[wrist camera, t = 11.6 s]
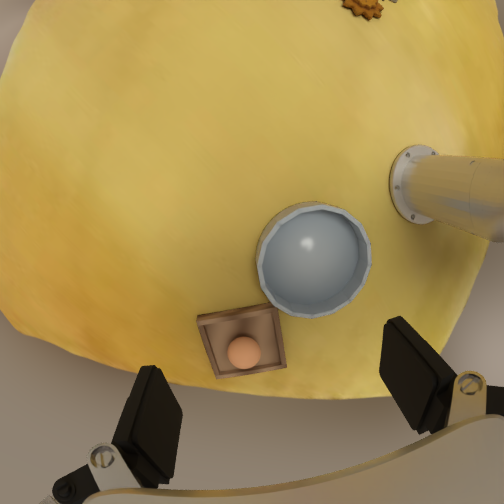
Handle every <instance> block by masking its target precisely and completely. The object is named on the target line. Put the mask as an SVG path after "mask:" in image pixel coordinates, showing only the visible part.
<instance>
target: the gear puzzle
mask: <svg viewBox="0 0 504 504" xmlns="http://www.w3.org/2000/svg"><path fill="white" fill-rule="evenodd" d="M382 1H384V0H382ZM390 1H392V2H394V3H396V2H397V0H390ZM343 6H346V7H349V8H352V9H353V12H354V14H355V15H361V14H363V15H364V16H365V17H366V18H368V19H369V20H371V19H372V17H373V16H375V17H378V18H380V17H381V13H380V11H382V10H383V9H384V8H383V7H382V5H380V4H379V3H378V0H345V1H344V2H343Z"/></svg>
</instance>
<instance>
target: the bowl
mask: <svg viewBox="0 0 504 504" xmlns="http://www.w3.org/2000/svg"><path fill="white" fill-rule="evenodd" d="M255 260H256V265H257V270H258V275H259V281H260V286H261V289H262V290H263V292H264V293H265V294H266V296H267V297H268V299H269V300H270V301H271V303H272V304H273V306H275V307H277V308H279V309H280V310H282V311H284V312H285V313H287V314H289V315H291V316H295V317H303V318H311V319H313V318H317V317H321V316H325V315H330V314H333V313H335V312H336V311H338V310H339V309H341V308H343V307H344V306H346V305H347V304H349V303H350V302H351V301H352V300H353V299H354V298H355V296H356V295H357V294H358V293H359V291H360V290H361V289H362V288H363V286H364V285H365V282H366V279H367V277H368V274H369V271H370V268H371V265H372V263H371V243H370V240H369V238H368V236H367V234H366V232H365V230H364V228H363V226H362V224H361V223H360V222H359V221H357V220H356V219H355V218H354V217H353V216H352V215H350V214H349V213H348V212H347V211H346V210H344V209H341V208H339V207H336V206H332V205H329V204H326V203H321V202H317V201H315V202H302V203H298V204H295V205H292V206H290V207H288V208H286V209H284V210H282V211H281V212H279V213H278V214H277V215H276V216H275V217H274V218H272V219H271V221H270V222H269V223H268V224H267V225H266V227H265V229H264V230H263V232H262V234H261V236H260V238H259V242H258V245H257V251H256V258H255Z"/></svg>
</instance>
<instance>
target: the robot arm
mask: <svg viewBox="0 0 504 504" xmlns="http://www.w3.org/2000/svg"><path fill="white" fill-rule="evenodd" d="M390 192H391V197H392V200H393V203H394V205H395V207H396V209H397V210H398V212H399V213H400V214H401V215H402V216H403V217H404V218H405V219H406V220H408V221H410V222H413V223H416V224H427V223H430V222H432V221H434V220H437V221H440V222H442V223H445V224H448V225H451V226H453V227H456V228H459V229H461V230H464V231H466V232H469V233H471V234H474V235H476V236H479V237H482V238H484V239H487V240H489V241H492V242H498V243H501V242H504V159H496V158H484V157H470V156H452V155H439V154H438V153H437V152H436V151H435V150H434V149H432V148H431V147H428V146H425V145H413V146H410V147H407V148H406V149H404V150H403V151H402V152H401V153H400V154H399V155H398V156H397V158H396V159H395V161H394V164H393V166H392V170H391V174H390ZM379 373H380V377H381V378H382V380H383V382H384V383H385V385H386V386H387V388H388V390H389V391H390V393H391V395H392V396H393V398H394V400H395V401H396V403H397V405H398V406H399V408H400V410H401V411H402V413H403V415H404V416H405V418H406V420H407V421H408V423H409V425H410V427H411V428H412V429H413V430H417V432H418V434H422V433H424V432H426V431H428V430H429V431H430V433H431V435H429V436H428V437H425V438H423V439H421V440H419V441H417V442H415V443H413V444H410V445H408V446H406V447H403V448H401V449H399V450H396V451H394V452H392V453H389V454H387V455H384V456H382V457H379V458H376V459H373V460H371V461H368V462H365V463H362V464H359V465H356V466H353V467H350V468H346V469H343V470H339V471H336V472H333V473H329V474H325V475H321V476H317V477H312V478H308V479H303V480H299V481H293V482H288V483H281V484H276V485H269V486H260V487H251V488H241V489H226V490H169V489H157V488H158V484H169V480H170V478H173V475H174V469H175V462H176V455H177V448H178V442H179V435H180V429H181V423H182V416H183V414H182V409H181V407H180V405H179V404H178V402H177V400H176V398H175V396H174V394H173V393H172V391H171V389H170V387H169V385H168V383H167V381H166V379H165V377H164V375H163V373H162V371H161V369H160V368H157V367H156V366H155V365H150V366H142V367H141V368H140V370H139V373H138V375H137V378H136V380H135V383H134V386H133V388H132V391H131V393H130V396H129V397H128V399H127V401H126V404H125V406H124V409H123V412H122V414H121V417H120V420H119V423H118V425H117V428H116V431H115V434H114V436H113V439H112V442H111V444H109V443H101V444H97V445H96V446H94V447H93V448H92V449H91V450H90V451H89V453H88V455H87V462H88V464H86V465H85V466H83V467H81V468H79V469H77V470H76V471H74V472H72V473H70V474H68V475H66V476H64V477H62V478H60V479H58V480H57V481H56V482H55V484H54V486H53V490H52V493H53V496H52V497H51V496H50V495H48V496H47V497H46V498H45V499H44V500H43V501H41V502H40V503H39V504H504V387H498V386H489V385H486V380H485V379H484V377H483V376H482V375H480V374H479V373H477V372H474V371H465V372H463V373H461V374H459V375H457V374H456V373H455V372H454V371H453V370H452V369H451V367H450V366H449V365H448V364H447V363H446V362H445V361H444V360H443V359H442V358H441V356H440V355H439V354H438V353H437V352H436V351H435V350H434V349H433V348H432V347H431V346H430V345H429V344H428V343H427V341H425V340H424V339H423V338H422V337H421V336H420V335H419V334H418V333H417V332H416V331H415V330H414V329H413V328H412V327H411V326H410V324H409V323H408V322H407V321H406V320H405V319H404V318H403V317H401V316H397V317H394V318H391V319H389V320H388V321H387V324H385V325H384V329H383V341H382V351H381V359H380V367H379Z"/></svg>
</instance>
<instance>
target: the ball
mask: <svg viewBox="0 0 504 504" xmlns="http://www.w3.org/2000/svg"><path fill="white" fill-rule="evenodd" d="M227 354H228V358H229V361H230V362H231V363H232V364H233V365H234V366H235V367H237V368H240V369H248V368H251V367H253V366H255V365H256V364H257V363H258V361H259V359H260V356H261V350H260V347H259V345H258V343H257V342H256V341H255V340H254V339H252V338H249V337H239V338H236V339H235V340H233V341H232V342H231V343H230V345H229V347H228V351H227Z"/></svg>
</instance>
